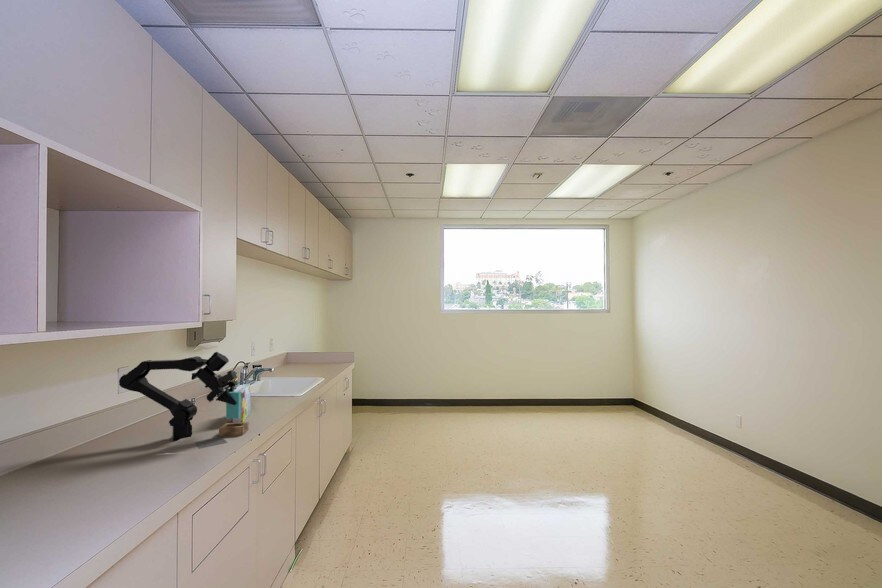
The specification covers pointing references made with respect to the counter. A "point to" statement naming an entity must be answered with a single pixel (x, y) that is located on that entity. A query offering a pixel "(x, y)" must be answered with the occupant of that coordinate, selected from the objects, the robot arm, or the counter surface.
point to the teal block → (234, 406)
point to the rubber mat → (210, 442)
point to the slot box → (233, 429)
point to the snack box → (243, 403)
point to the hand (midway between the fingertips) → (237, 403)
